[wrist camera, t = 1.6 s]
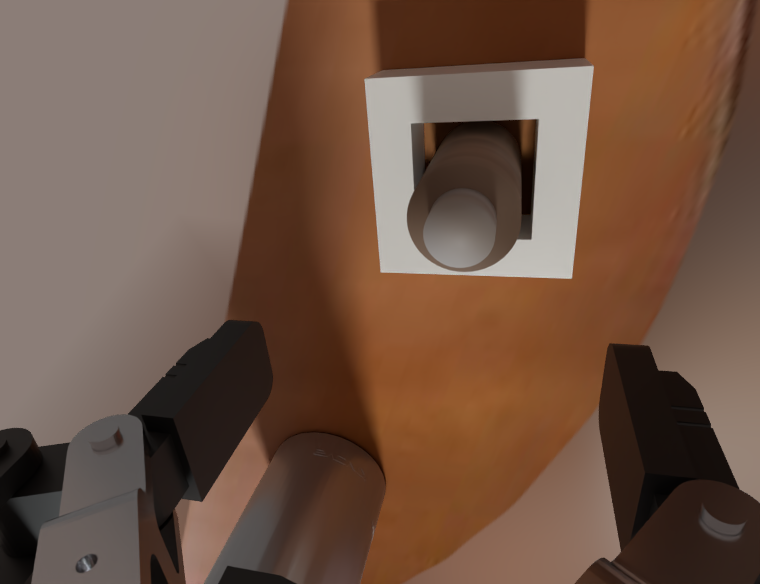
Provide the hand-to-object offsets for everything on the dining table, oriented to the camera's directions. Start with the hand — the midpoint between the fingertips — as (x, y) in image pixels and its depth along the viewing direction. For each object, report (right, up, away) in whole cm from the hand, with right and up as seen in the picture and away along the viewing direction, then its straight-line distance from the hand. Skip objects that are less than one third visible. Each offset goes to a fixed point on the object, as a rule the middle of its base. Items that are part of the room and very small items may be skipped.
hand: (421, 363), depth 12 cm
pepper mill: (+4, +8, +15) cm, 18 cm away
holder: (+4, +8, +15) cm, 18 cm away
